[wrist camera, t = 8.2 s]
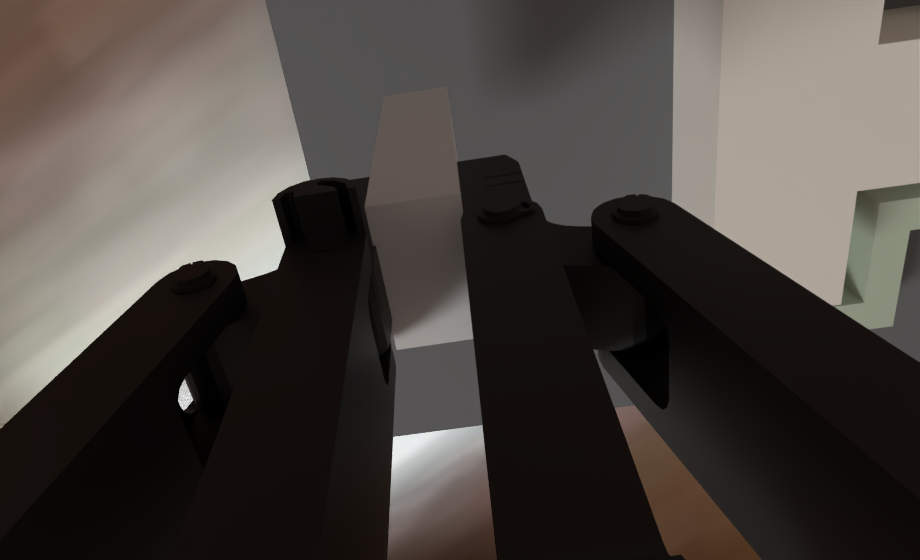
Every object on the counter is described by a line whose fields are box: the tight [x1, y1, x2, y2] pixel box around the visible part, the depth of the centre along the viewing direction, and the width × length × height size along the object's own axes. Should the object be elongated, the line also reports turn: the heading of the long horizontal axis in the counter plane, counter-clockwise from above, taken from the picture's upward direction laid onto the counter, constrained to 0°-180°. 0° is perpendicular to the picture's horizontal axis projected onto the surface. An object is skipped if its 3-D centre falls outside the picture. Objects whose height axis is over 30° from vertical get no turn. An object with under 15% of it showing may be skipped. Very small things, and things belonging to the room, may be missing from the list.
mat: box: [265, 0, 920, 437], centre depth 20 cm, size 21×24×1 cm
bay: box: [833, 183, 920, 329], centre depth 19 cm, size 15×15×2 cm
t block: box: [672, 0, 920, 306], centre depth 18 cm, size 10×10×4 cm
